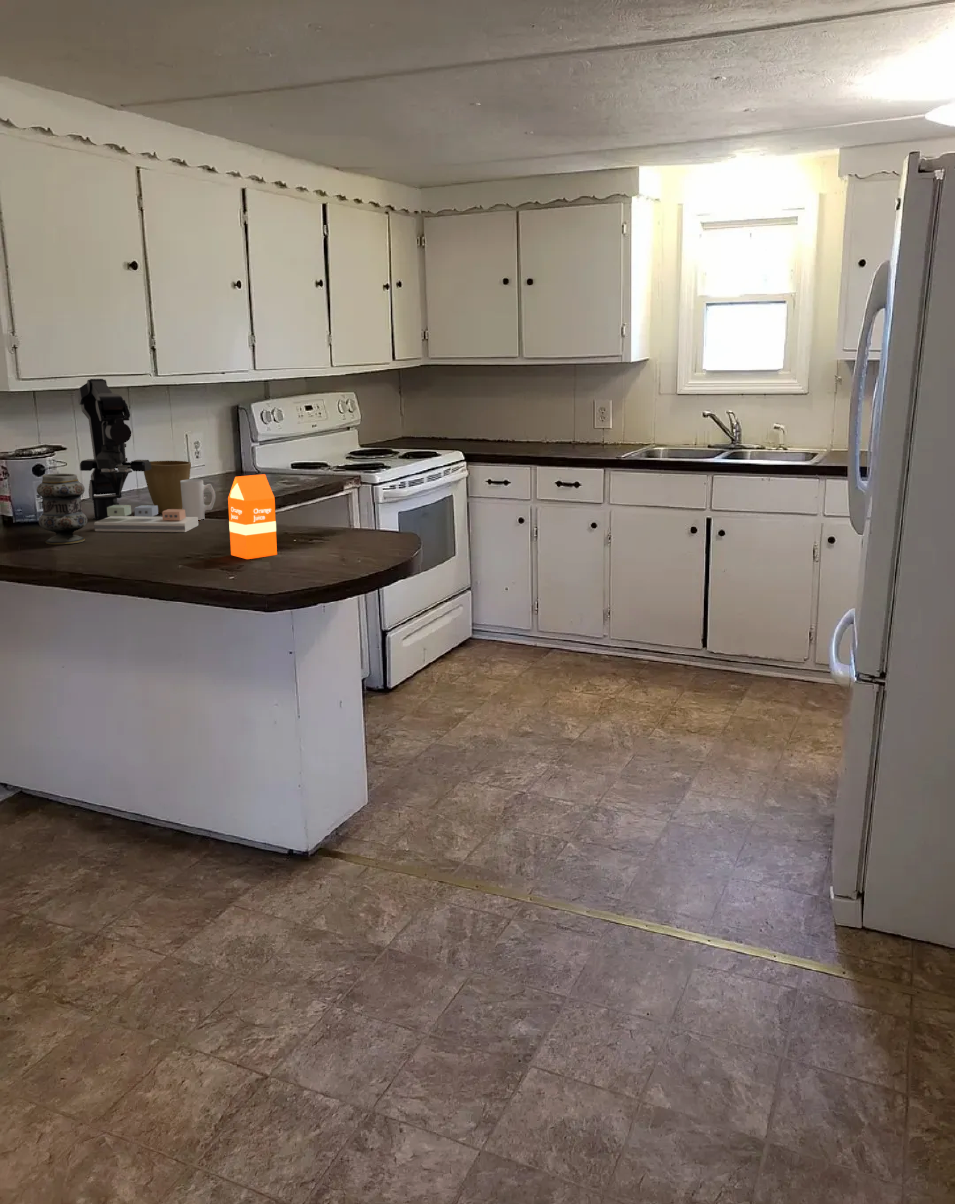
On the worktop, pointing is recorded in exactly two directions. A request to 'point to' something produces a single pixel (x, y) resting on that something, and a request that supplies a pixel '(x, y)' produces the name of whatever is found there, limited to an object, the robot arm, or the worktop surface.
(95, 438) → the robot arm
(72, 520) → the apothecary jar
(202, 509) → the mug
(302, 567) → the worktop surface
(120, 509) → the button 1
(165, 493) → the plant pot
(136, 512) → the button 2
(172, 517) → the orange block with buttons
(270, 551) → the orange juice
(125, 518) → the console
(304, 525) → the worktop surface
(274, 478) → the worktop surface
